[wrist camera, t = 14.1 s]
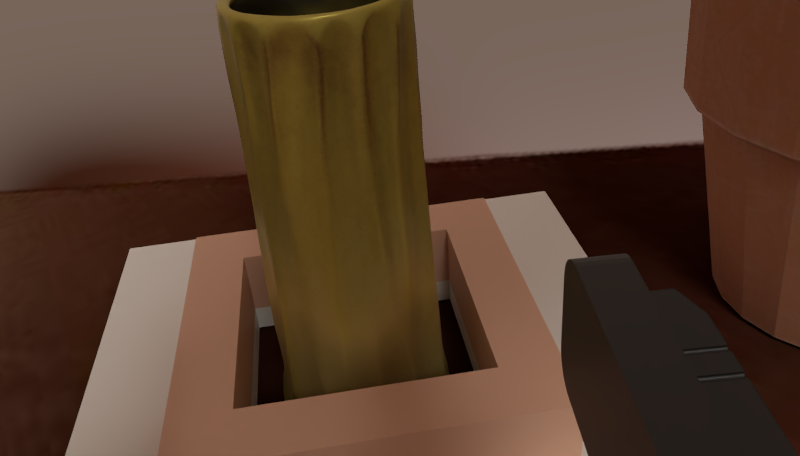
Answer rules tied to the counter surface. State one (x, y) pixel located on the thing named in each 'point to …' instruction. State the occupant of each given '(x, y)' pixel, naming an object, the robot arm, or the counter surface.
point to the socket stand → (351, 410)
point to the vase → (337, 187)
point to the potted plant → (751, 153)
